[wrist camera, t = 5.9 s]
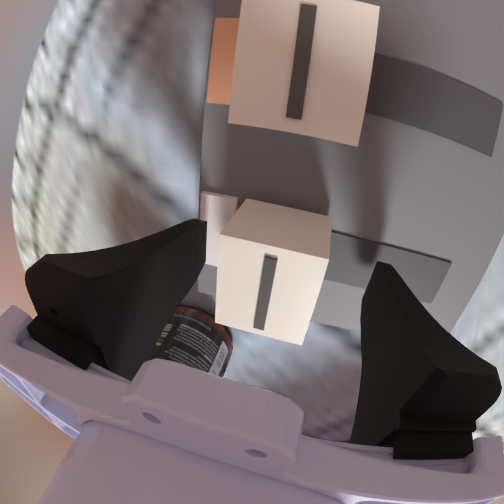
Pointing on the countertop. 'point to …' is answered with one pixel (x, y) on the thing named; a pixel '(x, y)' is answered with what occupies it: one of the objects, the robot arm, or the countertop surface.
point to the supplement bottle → (194, 341)
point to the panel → (380, 159)
